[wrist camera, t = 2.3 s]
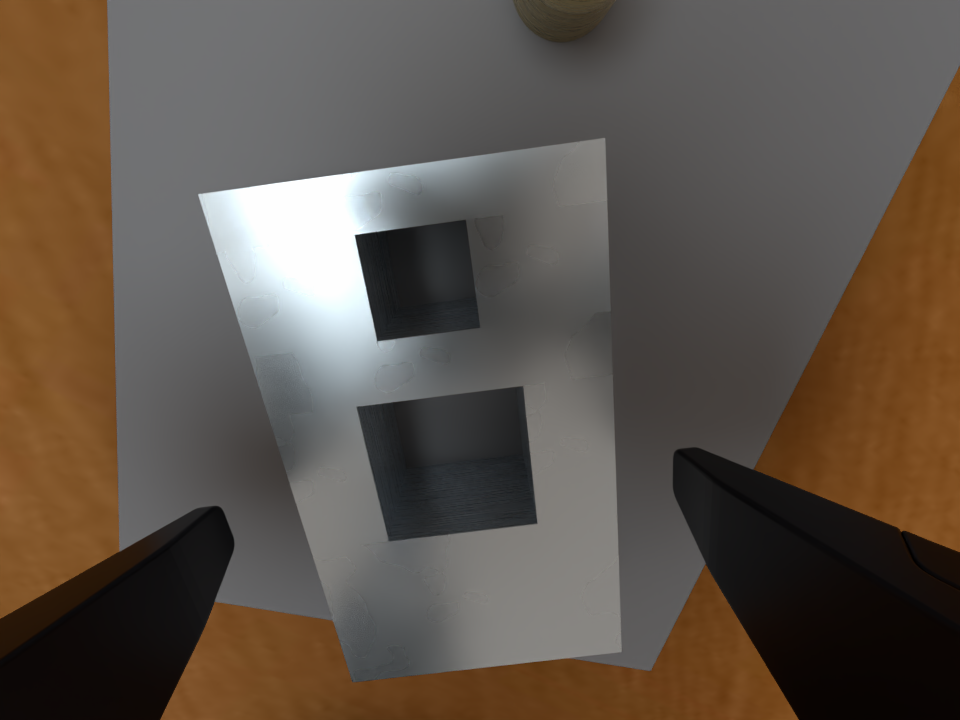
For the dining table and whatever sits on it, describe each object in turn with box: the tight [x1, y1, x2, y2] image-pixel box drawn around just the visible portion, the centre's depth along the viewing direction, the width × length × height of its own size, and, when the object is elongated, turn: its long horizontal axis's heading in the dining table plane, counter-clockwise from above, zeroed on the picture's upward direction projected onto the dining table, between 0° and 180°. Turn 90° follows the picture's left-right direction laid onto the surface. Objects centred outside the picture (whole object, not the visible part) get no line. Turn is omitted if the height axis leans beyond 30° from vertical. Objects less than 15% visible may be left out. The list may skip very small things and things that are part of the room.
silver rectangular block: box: [198, 138, 622, 682], centre depth 11 cm, size 12×7×3 cm, turn 7°
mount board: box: [107, 0, 960, 671], centre depth 12 cm, size 26×18×1 cm
